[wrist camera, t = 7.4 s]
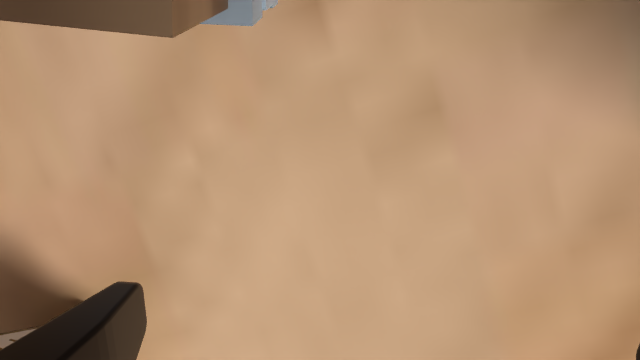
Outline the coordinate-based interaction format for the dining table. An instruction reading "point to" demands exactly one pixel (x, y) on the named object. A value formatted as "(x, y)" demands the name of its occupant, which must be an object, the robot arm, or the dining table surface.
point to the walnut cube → (115, 14)
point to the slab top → (238, 13)
